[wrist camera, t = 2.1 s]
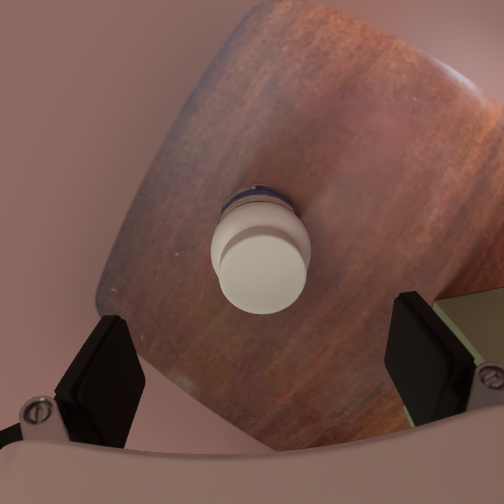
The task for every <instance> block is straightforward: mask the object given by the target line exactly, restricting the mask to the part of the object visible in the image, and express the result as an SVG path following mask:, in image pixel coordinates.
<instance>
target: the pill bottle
mask: <svg viewBox="0 0 504 504" xmlns="http://www.w3.org/2000/svg"><path fill="white" fill-rule="evenodd" d="M310 259H311V243H310V239H309V235H308V232H307V230H306V228H305V226H304V224H303V223H302V221H301V219H300V218H299V216H298V214H297V212H296V210H295V209H294V207H293V205H292V203H291V202H290V200H289V199H288V198H287V197H286V195H284V194H283V193H282V192H281V191H280V190H278V189H276V188H275V187H272V186H269V185H265V184H251V185H247V186H244V187H242V188H240V189H238V190H237V191H235V192H234V193H233V194H232V195H231V196H230V197H229V198H228V200H227V201H226V203H225V205H224V206H223V208H222V212H221V215H220V218H219V221H218V223H217V226H216V229H215V232H214V236H213V239H212V244H211V260H212V264H213V267H214V270H215V272H216V274H217V276H218V277H219V282H220V286H221V289H222V291H223V293H224V295H225V296H226V298H227V299H228V300H229V301H230V302H231V303H232V304H233V305H235V306H236V307H238V308H240V309H241V310H244V311H246V312H250V313H254V314H270V313H274V312H278V311H281V310H282V309H284V308H287V307H288V306H290V305H291V304H292V303H293V302H294V301H295V300H296V299H297V298H298V297H299V295H300V294H301V292H302V291H303V289H304V286H305V283H306V276H307V269H308V266H309V263H310Z"/></svg>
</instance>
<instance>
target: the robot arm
mask: <svg viewBox="0 0 504 504" xmlns="http://www.w3.org/2000/svg"><path fill="white" fill-rule="evenodd" d="M474 360H475V358H474V357H473V355H472V354H471V353H470V352H469V351H468V349H467V348H466V347H465V346H464V345H463V343H462V342H461V341H460V340H459V339H458V338H457V336H456V335H455V334H454V333H453V332H452V331H451V329H450V328H449V327H448V326H447V325H446V324H445V323H444V321H443V320H442V319H441V318H440V317H439V316H438V315H437V314H436V313H435V311H434V310H433V309H432V308H431V307H430V306H429V305H428V304H427V303H426V302H425V300H424V299H423V298H422V297H421V296H420V295H419V294H418V293H417V292H416V291H411V292H404V293H400V294H399V296H398V298H395V300H394V305H393V312H392V318H391V324H390V330H389V336H388V342H387V347H386V352H385V358H384V362H385V367H386V369H387V371H388V373H389V375H390V377H391V379H392V380H393V382H394V384H395V386H396V388H397V390H398V392H399V394H400V396H401V398H402V400H403V403H404V405H405V407H406V409H407V411H408V413H409V415H410V417H411V419H412V421H413V423H414V425H415V427H413V428H410V429H406V430H402V431H398V432H394V433H390V434H386V435H382V436H377V437H373V438H368V439H363V440H358V441H353V442H348V443H342V444H336V445H329V446H323V447H316V448H308V449H300V450H291V451H280V452H267V453H250V454H179V453H178V454H177V453H161V452H149V451H139V450H130V449H124V447H125V443H126V440H127V437H128V434H129V431H130V428H131V425H132V422H133V419H134V416H135V413H136V410H137V407H138V404H139V401H140V398H141V395H142V393H143V390H144V387H145V376H144V373H143V370H142V367H141V365H140V362H139V359H138V356H137V353H136V350H135V348H134V345H133V342H132V339H131V336H130V332H129V329H128V326H127V323H126V321H125V320H124V319H121V317H120V316H119V315H105V316H103V317H102V318H101V320H100V321H99V323H98V324H97V326H96V327H95V329H94V330H93V331H92V333H91V334H90V336H89V337H88V339H87V340H86V342H85V343H84V345H83V346H82V348H81V349H80V351H79V353H78V354H77V355H76V357H75V359H74V360H73V362H72V363H71V365H70V366H69V368H68V370H67V371H66V373H65V374H64V376H63V377H62V379H61V381H60V382H59V384H58V385H57V387H56V389H55V390H54V391H55V393H56V395H55V397H54V399H53V398H51V397H48V396H38V397H34V398H32V399H30V400H29V401H27V403H25V404H24V406H23V407H22V408H21V410H20V413H19V420H20V422H19V423H17V424H15V425H13V426H11V427H8V428H6V429H4V430H1V431H0V504H504V365H502V364H500V363H497V362H491V361H489V362H484V363H481V364H479V365H478V366H477V365H476V364H475V363H474Z"/></svg>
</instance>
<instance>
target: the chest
mask: <svg viewBox="0 0 504 504" xmlns="http://www.w3.org/2000/svg"><path fill="white" fill-rule="evenodd" d="M432 309H433V310H434V311H435V313H436V314H437V315H438V316H439V317H440V318H441V319H442V320H443V321H444V323H445V324H446V325H447V326H448V327H449V328H450V329H451V331H452V332H453V333H454V334H455V335H456V336H457V338H458V339H459V340H460V341H461V342H462V343H463V345H464V346H465V347H466V348H467V349H468V351H469V352H470V353H471V354H472V355H473V357H474V358H475V360H474V363H475V364H476V365H477V366H478V365H479V364H481V363H484V362H489V361H491V362H497V363H500V364H502V365H504V287H503V288H498V289H493V290H488V291H483V292H479V293H473V294H468V295H463V296H458V297H452V298H447V299H441V300H435V301H434V303H433V308H432ZM403 409H404V411H405V413H406V416H407V418H408V420H409V422H410V425H411V427H412V428H413V427H415V425H414V423H413V421H412V419H411V417H410V415H409V413H408V411H407V409H406V407H405V406H404V408H403Z"/></svg>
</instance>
